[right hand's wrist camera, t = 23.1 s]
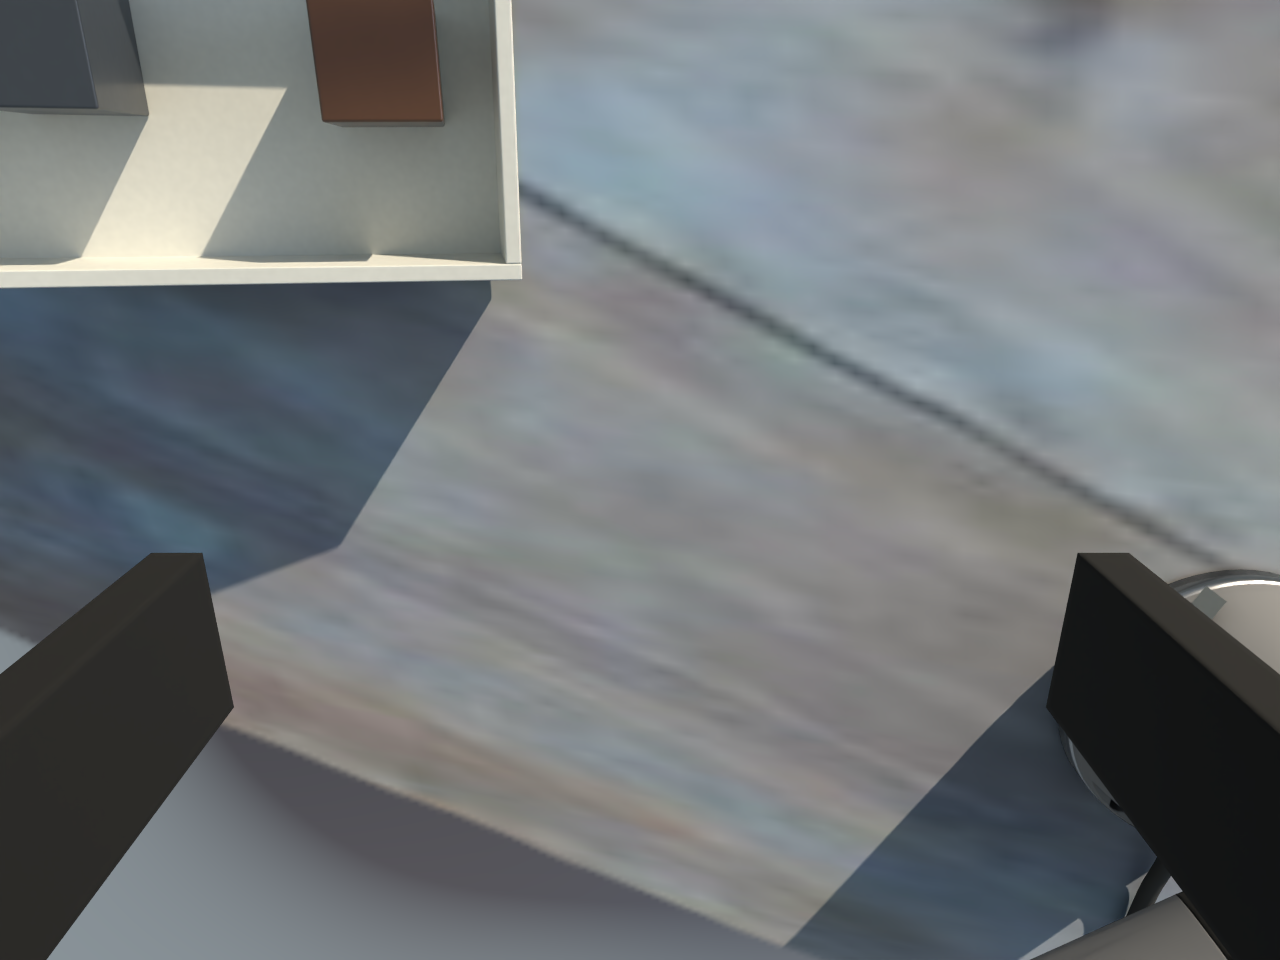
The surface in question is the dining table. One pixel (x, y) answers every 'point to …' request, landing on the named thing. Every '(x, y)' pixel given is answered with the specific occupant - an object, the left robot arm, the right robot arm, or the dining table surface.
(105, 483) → the dining table surface
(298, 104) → the tray
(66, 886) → the right robot arm
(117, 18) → the charcoal block
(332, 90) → the walnut block
